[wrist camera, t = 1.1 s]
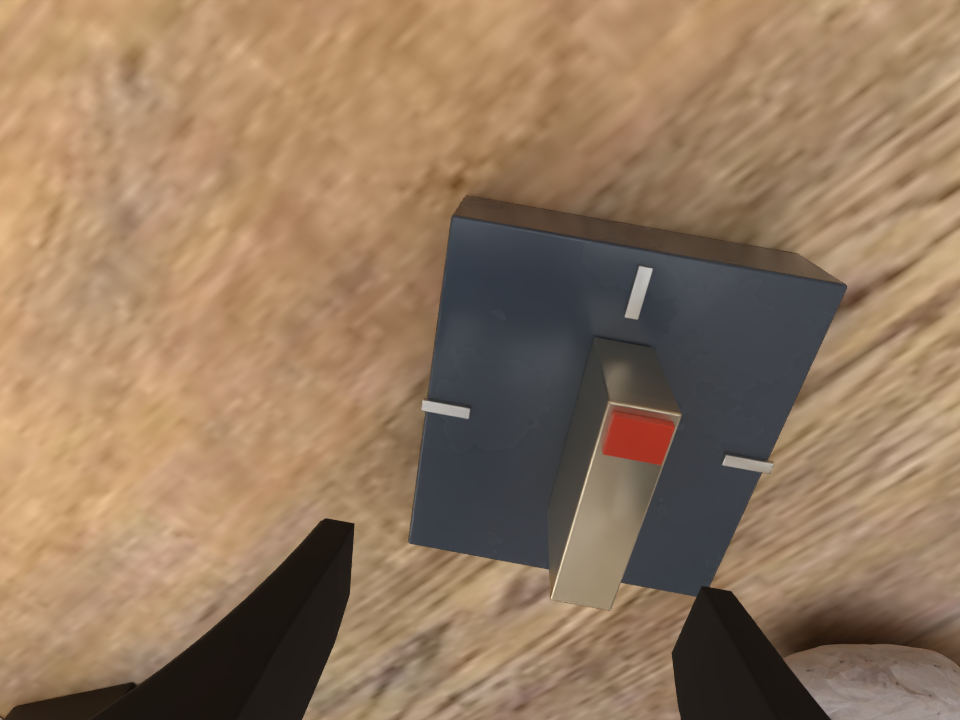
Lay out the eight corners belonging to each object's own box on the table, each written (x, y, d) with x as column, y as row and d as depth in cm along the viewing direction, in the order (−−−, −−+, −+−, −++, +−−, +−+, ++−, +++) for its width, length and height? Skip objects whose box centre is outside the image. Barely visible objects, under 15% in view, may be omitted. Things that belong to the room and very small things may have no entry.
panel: (686, 536, 22) (709, 604, 19) (420, 487, 22) (403, 547, 19) (803, 254, 17) (857, 288, 14) (461, 193, 17) (446, 215, 14)
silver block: (597, 519, 18) (612, 619, 15) (547, 510, 18) (549, 607, 15) (653, 346, 15) (685, 420, 12) (593, 336, 15) (609, 406, 12)
